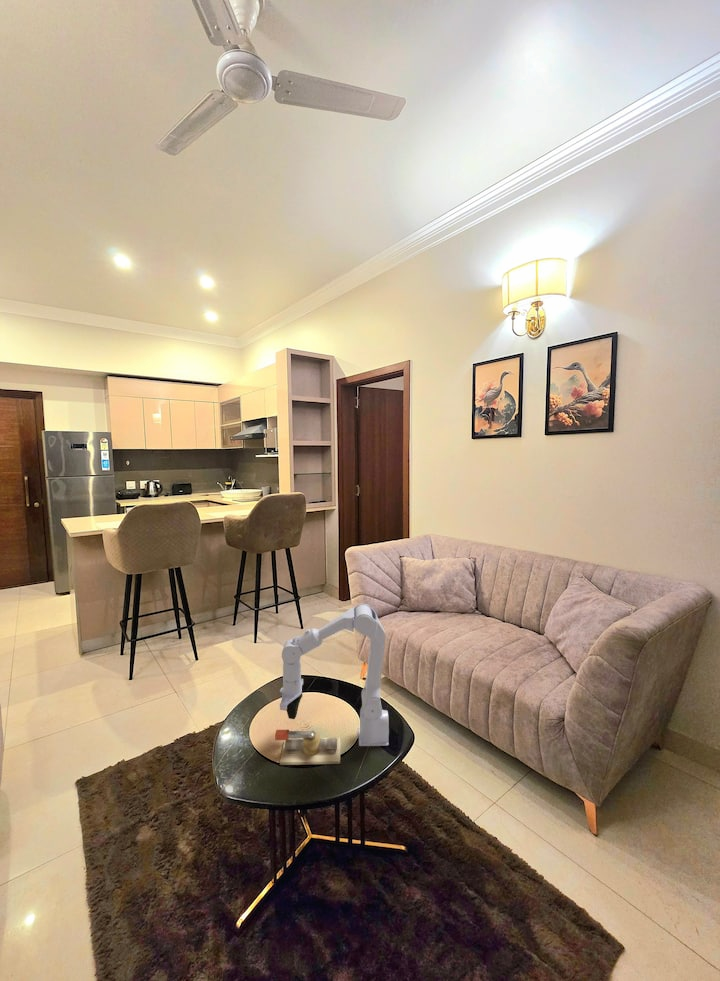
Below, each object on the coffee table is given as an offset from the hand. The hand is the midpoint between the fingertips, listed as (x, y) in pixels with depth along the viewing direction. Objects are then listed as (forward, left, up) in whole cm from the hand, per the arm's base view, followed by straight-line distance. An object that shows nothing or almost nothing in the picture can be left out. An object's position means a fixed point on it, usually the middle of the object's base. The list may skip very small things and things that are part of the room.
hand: (292, 717), depth 130 cm
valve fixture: (-7, +6, -7) cm, 12 cm away
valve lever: (-2, +6, -2) cm, 7 cm away
